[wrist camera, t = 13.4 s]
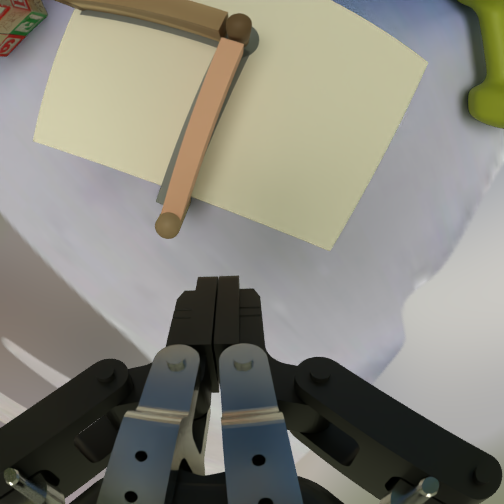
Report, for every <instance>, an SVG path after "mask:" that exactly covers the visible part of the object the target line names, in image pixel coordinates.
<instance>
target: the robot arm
mask: <svg viewBox="0 0 504 504" xmlns="http://www.w3.org/2000/svg"><path fill="white" fill-rule="evenodd" d="M219 383H220V389H221V403H222V418H221V424H222V439H223V452H224V464H225V472H222V473H217V474H212V475H206V476H205V467H204V456H205V448H206V441H207V434H208V427H209V421H210V414H211V409H210V405H211V393H219ZM103 415H104V416H103ZM102 416H103V417H102ZM99 418H100V419H99ZM98 419H99V420H98ZM95 421H96V422H95ZM91 424H92V425H91ZM88 426H89V427H88ZM87 427H88V428H87ZM84 429H85V430H84ZM83 430H84V431H83ZM287 430H290V432H291V433H292V435H293V436H294V437H296V438H297V439H298V440H299V441H301V442H302V443H303V444H304V445H306V446H307V447H308V448H309V449H311V450H312V451H313V452H314V453H316V454H317V455H318V456H320V457H321V458H322V459H323V460H325V461H326V462H327V463H329V464H330V465H331V466H333V467H334V468H335V469H337V470H338V471H339V472H341V473H342V474H344V475H345V476H346V477H348V478H349V479H350V480H352V481H353V482H355V483H356V484H358V485H359V486H361V487H362V488H363V489H365V490H366V491H368V492H369V493H371V494H372V495H374V496H375V497H376V498H378V499H380V502H379V504H479V503H481V502H483V501H484V500H486V499H487V498H489V497H490V496H492V495H493V494H494V493H495V492H496V491H497V489H498V488H499V486H500V484H501V480H502V469H501V466H500V464H499V462H498V461H497V460H496V459H495V458H494V457H493V456H491V455H489V454H487V453H486V452H484V451H482V450H480V449H479V448H477V447H475V446H473V445H471V444H470V443H468V442H466V441H464V440H463V439H461V438H459V437H457V436H456V435H454V434H452V433H450V432H449V431H447V430H445V429H443V428H442V427H440V426H438V425H437V424H435V423H433V422H432V421H430V420H428V419H426V418H425V417H423V416H421V415H420V414H418V413H416V412H415V411H413V410H411V409H410V408H408V407H407V406H405V405H403V404H401V403H400V402H398V401H397V400H395V399H393V398H392V397H390V396H389V395H387V394H385V393H384V392H382V391H381V390H379V389H377V388H376V387H374V386H373V385H371V384H370V383H368V382H366V381H365V380H363V379H362V378H360V377H359V376H357V375H355V374H354V373H352V372H351V371H349V370H348V369H346V368H345V367H343V366H341V365H340V364H338V363H337V362H335V361H333V360H331V359H329V358H325V357H312V358H308V359H306V360H304V361H303V362H301V363H300V364H299V365H298V366H295V365H290V364H285V363H281V362H279V361H277V360H275V359H274V358H272V357H271V356H270V355H269V354H268V352H267V351H266V348H265V341H264V331H263V321H262V311H261V301H260V296H259V295H258V294H257V292H256V291H255V290H254V289H239V276H219V279H218V277H198V280H197V286H196V291H184V292H183V293H182V294H181V296H180V297H179V298H178V299H177V302H176V306H175V311H174V314H173V319H172V322H171V326H170V331H169V335H168V339H167V343H166V347H165V348H163V349H162V350H160V351H159V352H158V353H157V354H156V356H155V358H154V360H153V362H152V363H150V364H148V365H145V366H141V367H136V368H131V369H127V367H126V365H125V364H124V363H123V362H121V361H119V360H116V359H104V360H101V361H99V362H97V363H95V364H93V365H92V366H90V367H89V368H88V369H86V370H85V371H83V372H82V373H80V374H79V375H77V376H76V377H75V378H73V379H71V380H70V381H69V382H67V383H66V384H64V385H63V386H61V387H60V388H58V389H57V390H56V391H54V392H52V393H51V394H50V395H48V396H47V397H45V398H44V399H42V400H41V401H39V402H38V403H36V404H35V405H33V406H32V407H31V408H29V409H28V410H26V411H25V412H23V413H22V414H20V415H19V416H17V417H16V418H14V419H13V420H11V421H10V422H9V423H7V424H6V425H4V426H3V427H1V428H0V504H65V498H66V497H68V496H69V495H70V494H72V493H73V492H74V491H76V490H77V489H78V488H80V487H81V486H83V485H84V484H85V483H87V482H88V481H89V480H91V479H92V478H93V477H95V476H96V475H97V474H98V473H100V472H101V471H102V470H104V469H105V468H106V467H107V469H106V473H105V476H104V478H102V479H100V480H99V481H97V482H96V483H94V484H93V485H92V486H91V487H89V488H88V489H87V490H86V491H84V492H83V493H82V494H81V495H79V496H78V497H77V498H76V499H75V500H73V501H72V502H71V503H69V504H344V503H343V502H341V501H340V500H339V499H338V498H336V497H335V496H334V495H333V494H331V493H330V492H329V491H328V490H326V489H325V488H323V487H322V486H320V485H319V484H317V483H315V482H313V481H311V480H308V479H305V478H302V477H299V476H297V473H296V469H295V464H294V460H293V455H292V451H291V446H290V442H289V437H288V433H287ZM80 432H81V433H80ZM79 433H80V434H79Z"/></svg>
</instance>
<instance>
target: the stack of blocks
mask: <svg viewBox="0 0 504 504" xmlns="http://www.w3.org/2000/svg"><path fill="white" fill-rule="evenodd" d="M47 16H48V14H47V12H46V10H45V8H44V6H43V4H42V1H41V0H0V56H8V55H9V54H10V52H11V51H12V50H13V49H14V48H15V47H16V46H17V45H18V44H19V43H20V42H21V41H22V40H23V39H24V38H25V37H26V35H27V34H28V33H29V32H31V31H32V30H33V29H34V28H35V27H36V26H37V25H38V24H39V23H40V22H41V21H42V20H43V19H45V18H46V17H47Z"/></svg>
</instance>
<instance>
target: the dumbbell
mask: <svg viewBox="0 0 504 504" xmlns="http://www.w3.org/2000/svg"><path fill="white" fill-rule="evenodd" d="M457 1H459V2H460V3H462V4H464V5H466V6H468V7H471V8H472V9H473V10H474V11H475V12H476V14H477V16H478V18H479V23H480V29H481V35H482V41H483V48H484V55H485V62H486V70H487V75H486V78H485V80H484V82H483V83H481V84H480V85H478V86H476V87H474V88H472V89H471V90H470V92H469V94H468V109H469V112H470V114H471V115H472V116H473V117H474V118H475V119H477V120H479V121H480V122H482V123H485V124H488V125H491V126H494V127H498V128H503V129H504V0H457Z"/></svg>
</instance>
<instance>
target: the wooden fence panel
mask: <svg viewBox="0 0 504 504" xmlns="http://www.w3.org/2000/svg"><path fill="white" fill-rule="evenodd" d="M55 1H58V2H60V3H63V4H66V5H68V6H71V7H73V8H76V9H78V10H81V11H85V10H92V11H98V12H105V13H111V14H116V15H121V16H127V17H131V18H136V19H141V20H145V21H149V22H154V23H158V24H162V25H165V26H169V27H173V28H176V29H180V30H183V31H187V32H190V33H194V34H197V35H200V36H203V37H206V38H209V39H212V40H215V41H218V42H220V40H221V37H223V38H225V37H226V35H227V34H228V39H229V40H233V41H236V42H239V43H242V44H244V47H246V46H247V45H248V43H249V39H250V33H251V28H252V21H251V19H250V18H249V17H248V16H247V15H245V14H242V13H237V14H233V15H231V16H230V17H229V16H228V12H226V11H223V10H220V9H217V8H214V7H210V6H207V5H204V4H200V3H197V2H193V1H189V0H55Z"/></svg>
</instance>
